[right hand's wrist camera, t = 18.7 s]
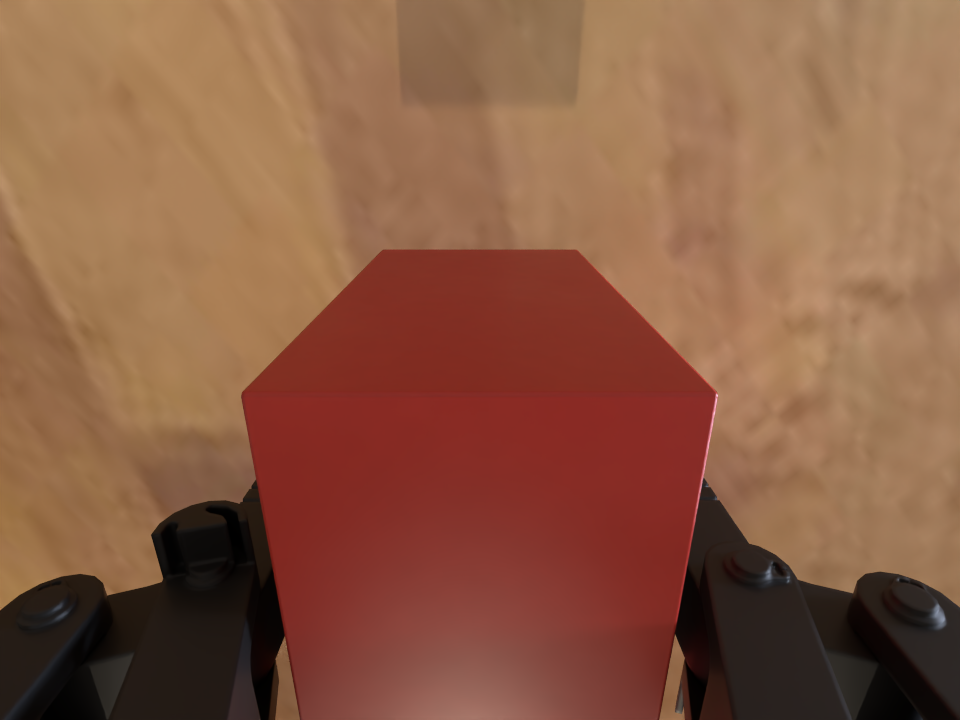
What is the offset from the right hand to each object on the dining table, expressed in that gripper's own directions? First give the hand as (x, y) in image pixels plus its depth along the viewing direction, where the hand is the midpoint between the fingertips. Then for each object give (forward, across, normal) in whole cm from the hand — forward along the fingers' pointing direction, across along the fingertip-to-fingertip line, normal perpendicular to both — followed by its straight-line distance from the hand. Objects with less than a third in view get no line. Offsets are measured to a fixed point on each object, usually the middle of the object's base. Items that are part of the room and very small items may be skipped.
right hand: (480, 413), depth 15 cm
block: (+1, 0, 0) cm, 1 cm away
